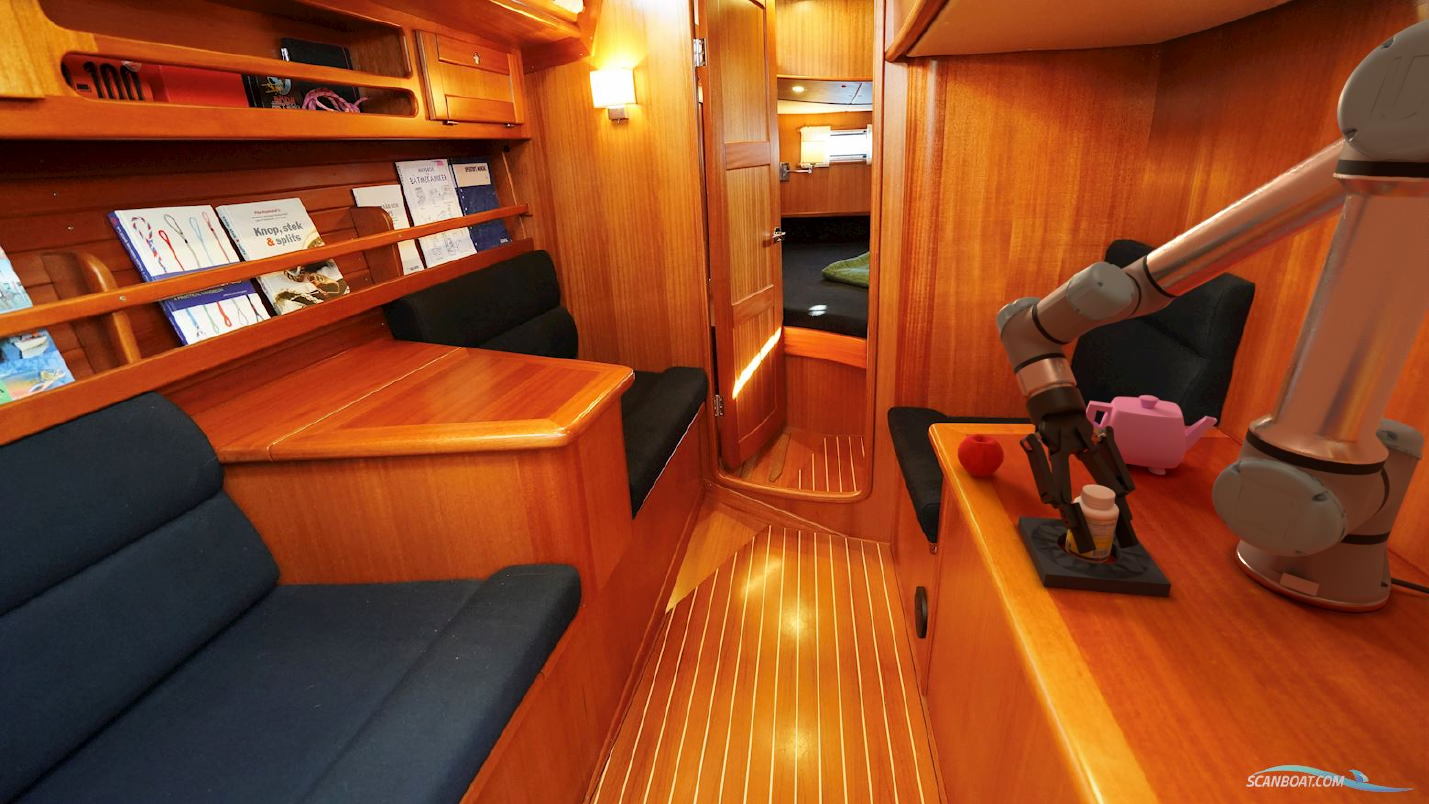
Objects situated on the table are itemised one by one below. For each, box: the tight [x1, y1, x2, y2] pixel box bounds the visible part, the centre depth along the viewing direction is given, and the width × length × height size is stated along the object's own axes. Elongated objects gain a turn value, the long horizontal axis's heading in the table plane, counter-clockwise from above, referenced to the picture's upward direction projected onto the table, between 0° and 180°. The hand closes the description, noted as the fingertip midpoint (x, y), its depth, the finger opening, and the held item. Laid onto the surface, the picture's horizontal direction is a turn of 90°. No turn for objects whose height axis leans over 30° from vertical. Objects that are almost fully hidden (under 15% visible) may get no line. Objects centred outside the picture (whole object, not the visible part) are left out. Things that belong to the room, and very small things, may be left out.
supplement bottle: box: [1064, 484, 1119, 564], centre depth 89 cm, size 6×6×10 cm
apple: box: [957, 433, 1005, 478], centre depth 115 cm, size 8×8×7 cm
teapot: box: [1086, 394, 1218, 476], centre depth 116 cm, size 20×12×13 cm, turn 62°
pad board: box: [1017, 515, 1172, 598], centre depth 91 cm, size 15×15×2 cm
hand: (1109, 548), depth 86 cm, fingers closed on supplement bottle, 6 cm apart
